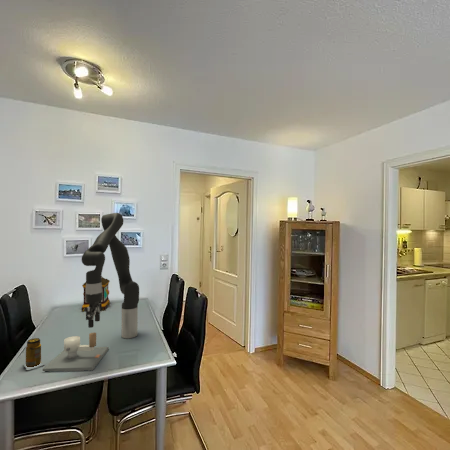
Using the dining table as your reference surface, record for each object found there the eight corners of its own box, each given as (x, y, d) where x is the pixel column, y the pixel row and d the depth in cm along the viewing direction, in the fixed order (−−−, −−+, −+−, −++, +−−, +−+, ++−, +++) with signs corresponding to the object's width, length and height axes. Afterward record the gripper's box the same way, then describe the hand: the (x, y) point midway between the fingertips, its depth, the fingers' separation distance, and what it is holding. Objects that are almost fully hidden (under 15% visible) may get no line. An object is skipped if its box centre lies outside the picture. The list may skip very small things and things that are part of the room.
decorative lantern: (86, 305, 235) (87, 269, 235) (111, 304, 239) (112, 269, 239) (79, 312, 215) (79, 273, 216) (106, 311, 219) (106, 272, 219)
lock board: (66, 350, 149) (66, 340, 149) (108, 349, 151) (108, 340, 151) (42, 372, 127) (42, 360, 127) (92, 370, 129) (92, 359, 129)
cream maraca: (59, 354, 134) (60, 337, 134) (69, 346, 143) (69, 330, 143) (91, 353, 135) (92, 337, 135) (99, 345, 144) (99, 330, 144)
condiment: (39, 360, 139) (40, 336, 139) (44, 366, 133) (45, 340, 133) (22, 365, 133) (22, 340, 134) (26, 371, 128) (26, 345, 128)
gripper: (91, 288, 146) (91, 319, 146) (80, 295, 132) (80, 329, 132) (106, 288, 147) (106, 319, 147) (96, 295, 133) (96, 329, 133)
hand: (94, 324), depth 140 cm, fingers open, 8 cm apart
